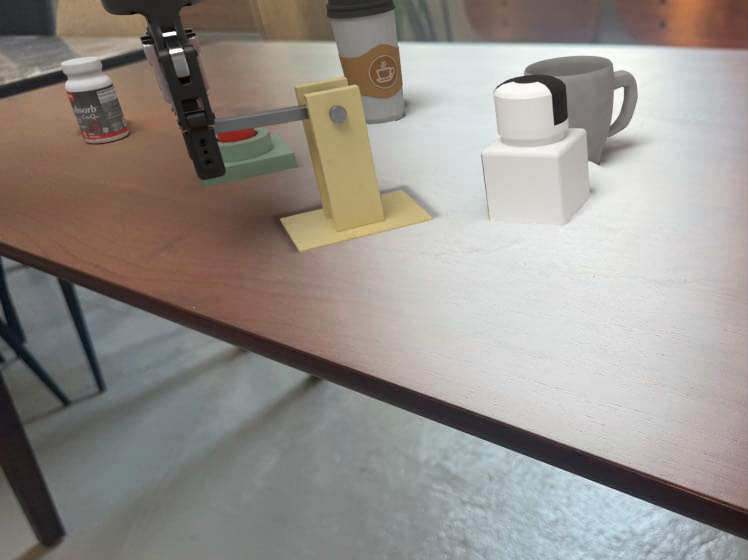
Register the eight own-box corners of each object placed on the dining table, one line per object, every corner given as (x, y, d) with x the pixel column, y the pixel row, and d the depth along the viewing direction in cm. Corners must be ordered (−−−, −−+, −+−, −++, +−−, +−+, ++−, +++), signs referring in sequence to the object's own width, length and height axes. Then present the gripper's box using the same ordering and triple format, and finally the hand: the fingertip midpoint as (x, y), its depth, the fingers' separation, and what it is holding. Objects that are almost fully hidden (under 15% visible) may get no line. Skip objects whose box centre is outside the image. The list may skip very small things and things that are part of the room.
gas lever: (194, 153, 68) (185, 122, 66) (187, 139, 72) (179, 109, 70) (356, 125, 72) (351, 96, 71) (342, 113, 76) (337, 85, 75)
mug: (555, 183, 85) (547, 81, 79) (518, 161, 91) (508, 66, 86) (659, 157, 88) (658, 58, 83) (616, 138, 95) (613, 45, 90)
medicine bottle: (520, 202, 81) (506, 69, 75) (591, 205, 79) (583, 68, 72) (489, 231, 76) (471, 91, 69) (565, 236, 73) (554, 91, 67)
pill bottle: (75, 144, 114) (45, 66, 109) (106, 131, 118) (78, 55, 113) (109, 145, 112) (80, 65, 107) (139, 131, 117) (112, 54, 111)
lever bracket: (302, 263, 73) (262, 110, 66) (282, 230, 80) (244, 89, 73) (434, 230, 77) (410, 82, 70) (404, 201, 84) (379, 64, 77)
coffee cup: (366, 131, 107) (340, -1, 98) (338, 119, 113) (311, -6, 104) (424, 115, 111) (404, -13, 102) (394, 105, 116) (372, -17, 108)
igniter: (206, 192, 92) (194, 155, 90) (196, 170, 99) (186, 135, 97) (298, 172, 95) (289, 135, 93) (283, 152, 102) (274, 118, 100)
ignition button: (221, 147, 93) (217, 131, 92) (217, 138, 96) (212, 123, 95) (259, 139, 94) (254, 123, 93) (253, 131, 97) (248, 116, 96)
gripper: (80, -63, 66) (155, 156, 75) (81, -52, 55) (168, 203, 64) (181, -75, 68) (241, 139, 78) (201, -68, 57) (269, 181, 67)
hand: (208, 167), depth 71 cm, fingers closed on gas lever, 5 cm apart
